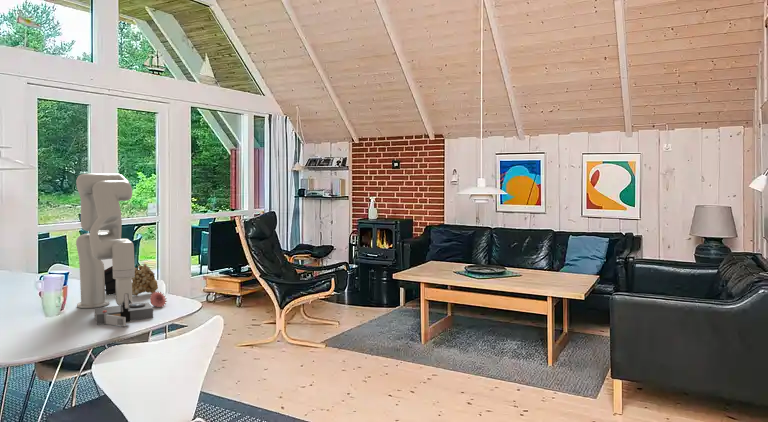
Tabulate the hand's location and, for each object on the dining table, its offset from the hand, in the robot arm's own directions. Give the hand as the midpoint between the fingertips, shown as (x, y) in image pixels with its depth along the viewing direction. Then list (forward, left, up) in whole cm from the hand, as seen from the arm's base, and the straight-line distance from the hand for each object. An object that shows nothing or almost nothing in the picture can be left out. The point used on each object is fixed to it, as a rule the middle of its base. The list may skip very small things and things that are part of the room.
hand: (125, 321), depth 214 cm
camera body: (-12, +1, -1) cm, 12 cm away
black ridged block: (-66, +3, -2) cm, 67 cm away
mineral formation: (-56, +14, -2) cm, 57 cm away
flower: (-26, +16, -2) cm, 31 cm away
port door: (-1, -4, -1) cm, 4 cm away
